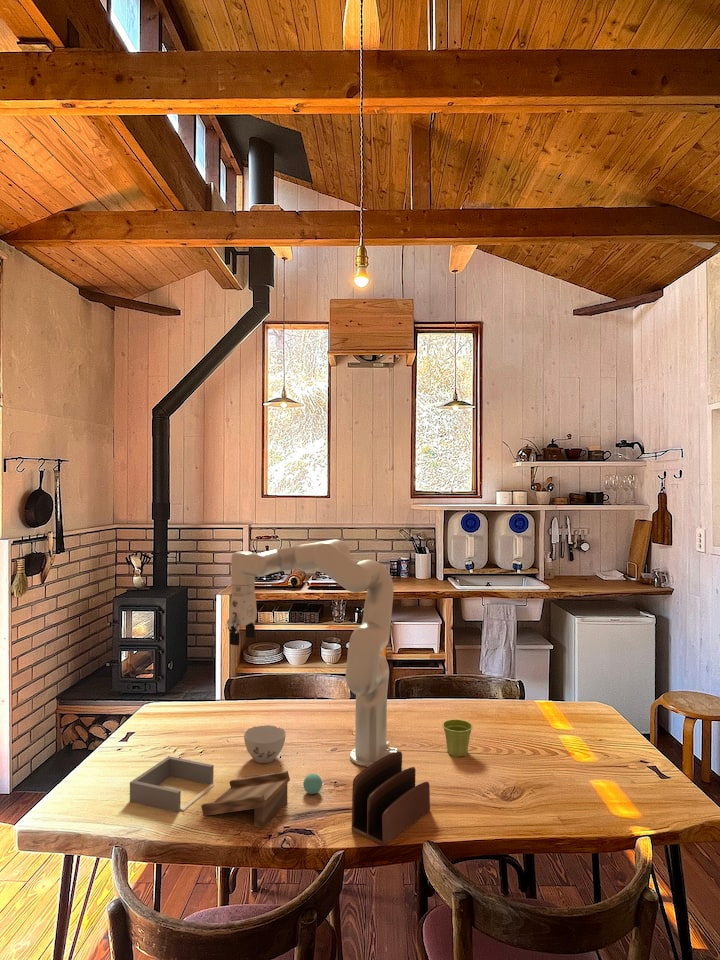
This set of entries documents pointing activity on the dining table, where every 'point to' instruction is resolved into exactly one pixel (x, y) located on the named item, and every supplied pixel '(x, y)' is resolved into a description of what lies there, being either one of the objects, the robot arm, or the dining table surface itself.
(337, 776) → the dining table surface
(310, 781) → the teal rubber ball
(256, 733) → the teacup
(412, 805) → the letter holder
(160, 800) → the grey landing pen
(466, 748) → the plant pot
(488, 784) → the dining table surface
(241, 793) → the walnut ramp
